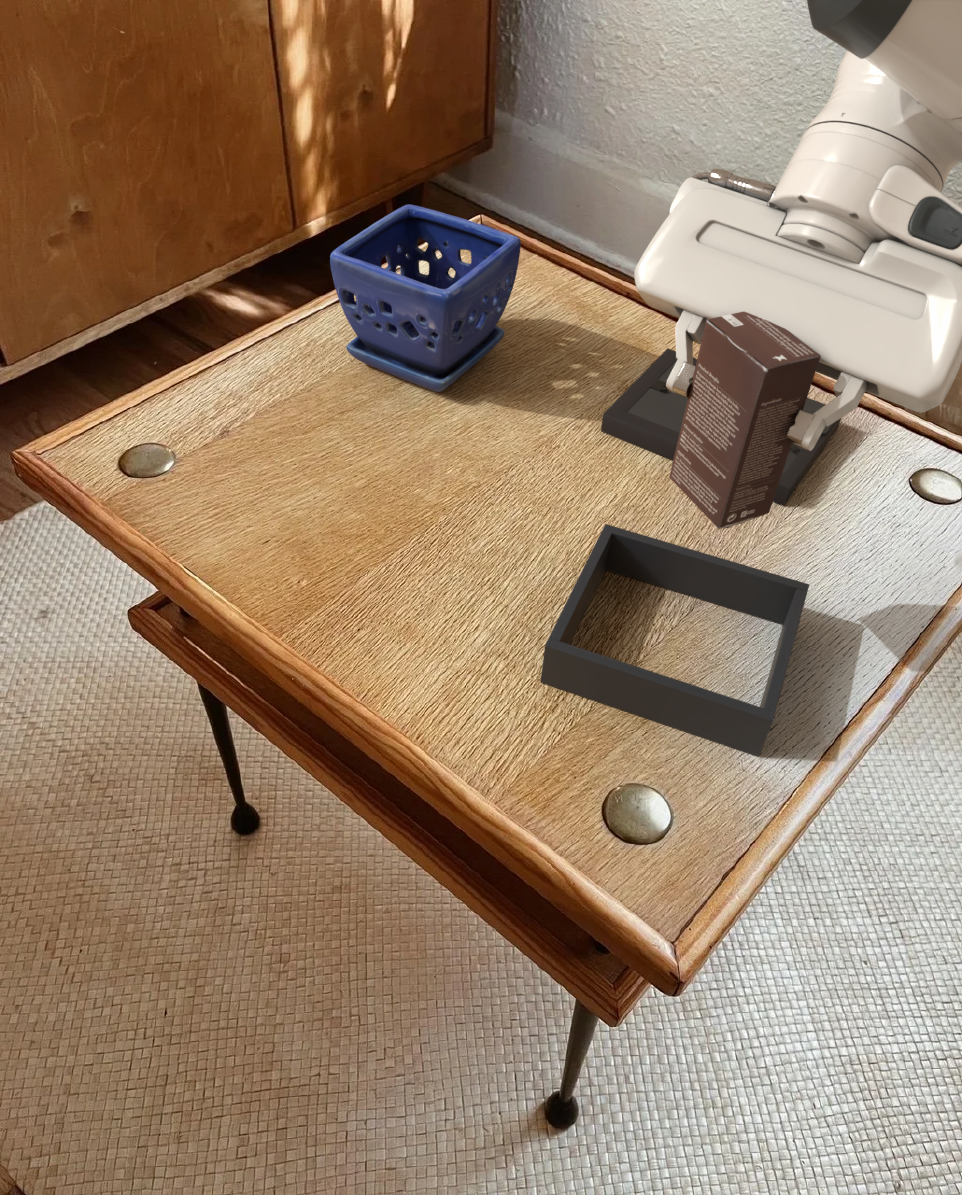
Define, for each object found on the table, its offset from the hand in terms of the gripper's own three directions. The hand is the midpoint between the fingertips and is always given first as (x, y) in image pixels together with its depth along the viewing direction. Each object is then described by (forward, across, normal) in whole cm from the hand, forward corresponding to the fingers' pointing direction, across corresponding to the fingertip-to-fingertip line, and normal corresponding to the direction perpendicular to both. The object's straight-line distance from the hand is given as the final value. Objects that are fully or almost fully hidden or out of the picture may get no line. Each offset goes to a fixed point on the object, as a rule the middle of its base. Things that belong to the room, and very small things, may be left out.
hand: (737, 418), depth 63 cm
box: (+4, 0, +5) cm, 7 cm away
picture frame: (-3, -9, +30) cm, 32 cm away
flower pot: (+2, -37, +25) cm, 45 cm away
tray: (+15, +1, +12) cm, 19 cm away
